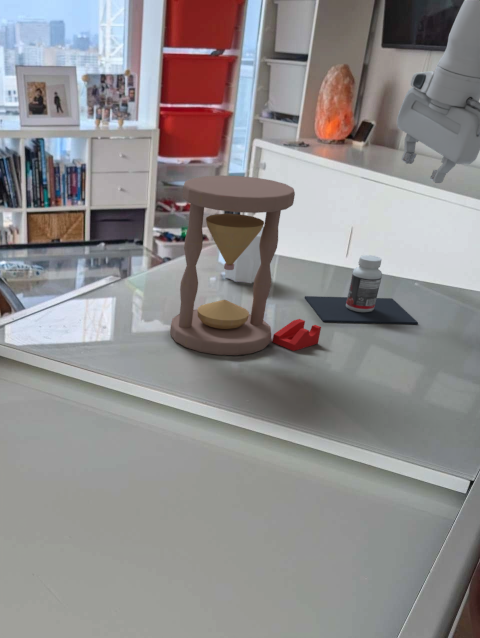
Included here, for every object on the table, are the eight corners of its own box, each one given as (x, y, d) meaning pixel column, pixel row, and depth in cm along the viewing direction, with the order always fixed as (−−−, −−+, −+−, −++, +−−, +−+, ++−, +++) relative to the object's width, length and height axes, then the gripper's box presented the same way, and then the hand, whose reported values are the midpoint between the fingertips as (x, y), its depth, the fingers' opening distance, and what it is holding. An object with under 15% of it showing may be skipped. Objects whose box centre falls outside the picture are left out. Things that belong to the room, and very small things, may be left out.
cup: (276, 280, 163) (284, 233, 157) (241, 286, 158) (248, 238, 153) (245, 268, 170) (252, 222, 164) (211, 274, 165) (216, 227, 160)
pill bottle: (342, 303, 150) (353, 253, 145) (370, 304, 150) (382, 254, 145) (347, 312, 146) (359, 260, 140) (376, 314, 146) (388, 262, 140)
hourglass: (261, 321, 141) (284, 177, 127) (278, 358, 127) (306, 199, 113) (166, 317, 141) (179, 173, 127) (172, 353, 126) (187, 195, 113)
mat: (391, 300, 154) (392, 298, 154) (417, 324, 143) (418, 322, 142) (304, 298, 154) (304, 296, 153) (323, 322, 142) (323, 320, 142)
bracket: (296, 335, 136) (299, 318, 134) (317, 343, 133) (321, 327, 131) (272, 342, 132) (275, 325, 131) (293, 351, 129) (296, 334, 128)
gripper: (508, 110, 125) (468, 194, 134) (436, 74, 139) (404, 153, 148) (477, 107, 123) (439, 193, 132) (407, 71, 137) (377, 151, 146)
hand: (420, 171), depth 140 cm, fingers open, 8 cm apart
